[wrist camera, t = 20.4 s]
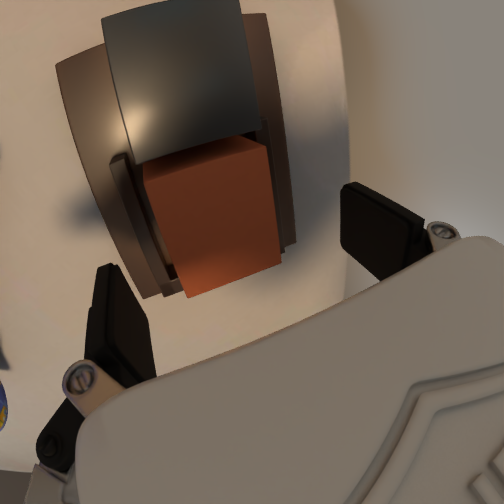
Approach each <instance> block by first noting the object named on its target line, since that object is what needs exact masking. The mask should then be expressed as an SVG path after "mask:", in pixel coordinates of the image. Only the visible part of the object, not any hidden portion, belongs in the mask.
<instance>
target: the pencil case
mask: <svg viewBox="0 0 504 504" xmlns="http://www.w3.org/2000/svg"><path fill="white" fill-rule="evenodd" d="M7 415H8V406H7V399H6V394H5V390H4V387H3V385H2V383H1V381H0V431H1V430H2V429H3V427H4V426H5V424H6V421H7Z"/></svg>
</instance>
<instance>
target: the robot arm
mask: <svg viewBox="0 0 504 504" xmlns="http://www.w3.org/2000/svg"><path fill="white" fill-rule="evenodd" d="M424 221H425V219H423V218H422V217H420V216H418V215H417V214H415V213H413V212H411V211H410V210H408V209H406V208H404V207H403V206H401V205H399V204H398V203H396V202H394V201H392V200H390V199H388V198H386V197H385V196H383V195H381V194H379V193H378V192H376V191H374V190H372V189H369V188H368V187H366V186H364V185H362V184H360V183H358V182H352V183H348V184H345V185H344V186H343V188H342V189H341V191H340V243H341V246H342V248H343V249H344V250H345V251H346V252H347V253H348V254H350V255H351V256H352V257H353V258H354V259H355V260H357V261H358V262H359V263H360V264H361V265H363V266H364V267H365V268H366V269H367V270H368V271H369V272H370V273H372V274H373V275H374V276H375V277H376V278H377V279H378V280H379V281H380V282H379V283H377V284H375V285H373V286H371V287H369V288H367V289H365V290H363V291H361V292H359V293H358V294H356V295H354V296H352V297H350V298H348V299H345V300H343V301H341V302H339V303H337V304H335V305H333V306H331V307H329V308H327V309H325V310H323V311H321V312H318V313H316V314H314V315H312V316H310V317H308V318H305V319H303V320H301V321H299V322H297V323H294V324H292V325H290V326H288V327H285V328H283V329H281V330H278V331H276V332H274V333H271V334H269V335H267V336H264V337H262V338H260V339H257V340H255V341H252V342H250V343H247V344H245V345H242V346H240V347H237V348H235V349H232V350H229V351H227V352H224V353H222V354H219V355H216V356H214V357H211V358H208V359H206V360H203V361H200V362H197V363H195V364H192V365H189V366H186V367H183V368H181V369H178V370H175V371H172V372H169V373H167V374H164V375H161V376H158V377H157V375H156V370H155V364H154V358H153V351H152V345H151V338H150V330H149V323H148V319H147V317H146V314H145V313H144V311H143V309H142V308H141V306H140V304H139V302H138V301H137V299H136V297H135V295H134V293H133V292H132V290H131V288H130V286H129V284H128V282H127V281H126V279H125V277H124V275H123V273H122V271H121V269H120V267H119V266H118V265H113V264H112V263H109V264H106V265H103V266H101V267H98V269H97V273H96V279H95V285H94V292H93V299H92V307H90V308H89V312H88V320H87V329H86V340H85V353H84V360H79V361H77V362H75V363H74V364H72V365H71V366H70V367H69V368H68V370H67V371H66V372H65V375H64V377H63V381H62V388H63V392H64V393H65V395H66V396H67V398H66V399H65V400H64V402H63V403H62V404H61V406H60V407H59V408H58V410H57V411H56V412H55V414H54V415H53V416H52V418H51V419H50V420H49V422H48V423H47V425H46V426H45V427H44V429H43V430H42V432H41V433H40V435H39V437H38V439H37V442H36V453H37V457H38V458H39V460H40V463H39V465H38V464H36V463H35V465H34V469H33V472H32V475H31V479H30V482H29V485H28V489H27V493H26V497H25V501H24V504H504V246H503V245H502V244H501V243H499V242H497V241H496V240H494V239H492V238H490V237H486V236H473V237H466V238H463V239H461V237H460V235H459V232H458V231H457V229H456V228H454V227H453V226H451V225H450V224H447V223H444V222H439V221H437V222H436V221H435V222H431V223H429V224H428V226H427V230H426V229H424V228H423V227H424Z"/></svg>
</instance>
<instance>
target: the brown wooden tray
mask: <svg viewBox="0 0 504 504" xmlns="http://www.w3.org/2000/svg"><path fill="white" fill-rule="evenodd" d="M101 24H102V30H103V36H104V41H105V43H103V44H100V45H98V46H95V47H93V48H90V49H88V50H85V51H83V52H81V53H78V54H76V55H74V56H71V57H69V58H67V59H65V60H63V61H61V62H59V63H57V64H56V65H55V67H56V72H57V77H58V82H59V86H60V91H61V95H62V99H63V103H64V107H65V111H66V115H67V118H68V122H69V125H70V129H71V132H72V135H73V139H74V142H75V145H76V148H77V151H78V154H79V157H80V160H81V163H82V166H83V169H84V171H85V174H86V177H87V180H88V182H89V185H90V187H91V190H92V193H93V195H94V198H95V200H96V203H97V205H98V207H99V210H100V212H101V215H102V217H103V219H104V222H105V224H106V226H107V228H108V231H109V233H110V235H111V237H112V239H113V241H114V244H115V246H116V248H117V250H118V252H119V254H120V256H121V258H122V260H123V262H124V264H125V266H126V268H127V270H128V272H129V274H130V276H131V278H132V280H133V282H134V284H135V285H136V287H137V289H138V291H139V293H140V295H141V296H142V298H143V299H146V298H148V297H151V296H154V295H157V294H159V293H162V295H163V297H167V296H170V295H173V294H175V293H178V292H181V291H183V290H184V289H183V287H182V284H181V282H180V280H179V277H178V275H177V272H176V270H175V268H174V265H173V263H172V260H171V258H170V255H169V253H168V250H167V247H166V245H165V242H164V240H163V237H162V234H161V232H160V229H159V226H158V224H157V221H156V218H155V215H154V213H153V210H152V207H151V204H150V201H149V198H148V196H147V193H146V190H145V187H144V181H143V163H144V162H147V161H150V160H153V159H156V158H159V157H162V156H165V155H168V154H171V153H174V152H177V151H180V150H183V149H187V148H190V147H193V146H197V145H200V144H204V143H207V142H211V141H215V140H218V139H222V138H226V137H230V136H234V135H239V136H242V137H244V138H247V139H249V140H252V141H254V142H257V143H259V144H261V145H264V146H266V149H267V156H268V163H269V169H270V176H271V184H272V191H273V198H274V206H275V213H276V221H277V229H278V237H279V245H280V253H281V254H282V253H285V247H286V246H289V245H291V244H294V243H296V231H295V219H294V209H293V198H292V188H291V179H290V170H289V161H288V152H287V144H286V136H285V128H284V121H283V114H282V106H281V99H280V93H279V86H278V80H277V73H276V67H275V61H274V55H273V49H272V44H271V38H270V33H269V27H268V22H267V17H266V14H265V13H255V14H242V13H241V8H240V3H239V0H167V1H162V2H158V3H153V4H149V5H145V6H141V7H137V8H133V9H130V10H126V11H123V12H120V13H117V14H113V15H110V16H107V17H105V18H102V19H101Z"/></svg>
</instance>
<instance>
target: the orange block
mask: <svg viewBox="0 0 504 504" xmlns="http://www.w3.org/2000/svg"><path fill="white" fill-rule="evenodd" d="M143 181H144V187H145V190H146V193H147V196H148V198H149V201H150V204H151V207H152V210H153V213H154V215H155V218H156V221H157V224H158V226H159V229H160V232H161V234H162V237H163V240H164V242H165V245H166V247H167V250H168V253H169V255H170V258H171V260H172V263H173V265H174V268H175V270H176V272H177V275H178V277H179V280H180V282H181V284H182V287H183V289H184V291H185V294H186V296H187V298H191V297H193V296H196V295H199V294H202V293H204V292H207V291H210V290H212V289H215V288H218V287H220V286H223V285H226V284H228V283H231V282H233V281H236V280H239V279H241V278H244V277H247V276H249V275H252V274H254V273H257V272H260V271H262V270H265V269H267V268H270V267H272V266H275V265H278V264H280V263H282V261H281V253H280V245H279V237H278V229H277V221H276V213H275V206H274V198H273V191H272V184H271V176H270V169H269V163H268V156H267V149H266V146H264V145H261V144H259V143H257V142H254V141H252V140H249V139H247V138H244V137H242V136H239V135H234V136H230V137H226V138H222V139H218V140H215V141H211V142H207V143H204V144H200V145H197V146H193V147H190V148H187V149H183V150H180V151H177V152H174V153H171V154H168V155H165V156H162V157H159V158H156V159H153V160H150V161H147V162H144V163H143Z"/></svg>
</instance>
